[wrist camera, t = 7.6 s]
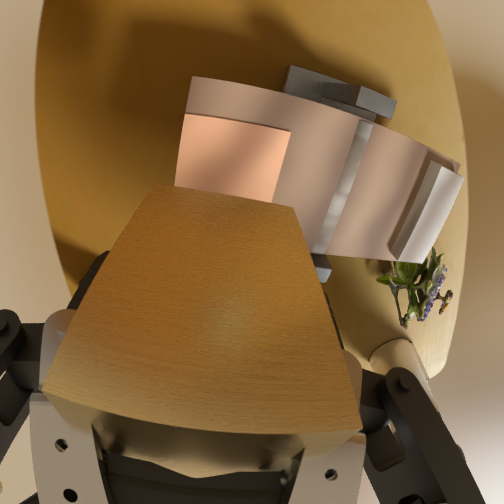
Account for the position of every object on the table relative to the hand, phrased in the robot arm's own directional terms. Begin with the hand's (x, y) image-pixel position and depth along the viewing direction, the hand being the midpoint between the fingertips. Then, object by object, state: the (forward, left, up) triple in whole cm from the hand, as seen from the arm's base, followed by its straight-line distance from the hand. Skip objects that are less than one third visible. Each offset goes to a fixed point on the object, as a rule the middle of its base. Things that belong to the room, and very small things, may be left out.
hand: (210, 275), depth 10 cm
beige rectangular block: (0, 0, -1) cm, 1 cm away
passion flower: (-28, +11, -22) cm, 38 cm away
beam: (-9, 0, -14) cm, 17 cm away
